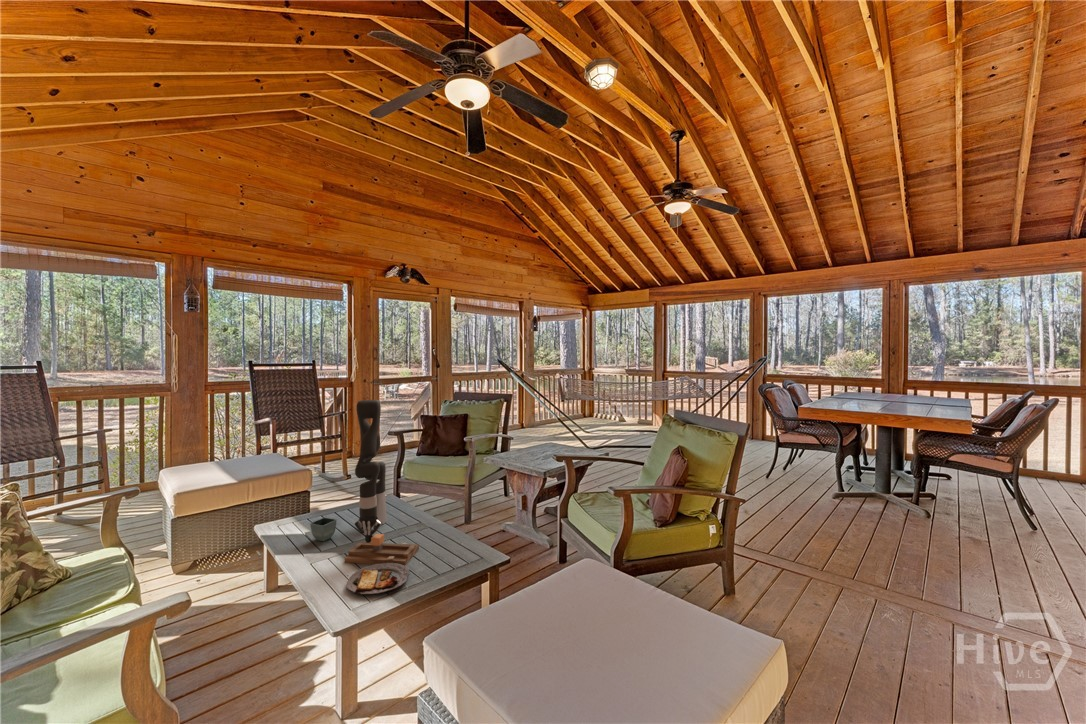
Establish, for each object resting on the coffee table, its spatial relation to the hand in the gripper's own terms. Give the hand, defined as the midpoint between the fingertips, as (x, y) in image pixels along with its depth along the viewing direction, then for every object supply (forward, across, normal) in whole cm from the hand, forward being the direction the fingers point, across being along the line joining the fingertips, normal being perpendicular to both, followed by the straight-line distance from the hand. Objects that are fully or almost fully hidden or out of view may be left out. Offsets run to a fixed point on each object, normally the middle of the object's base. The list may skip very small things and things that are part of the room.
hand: (368, 542), depth 204 cm
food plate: (+6, -16, +22) cm, 28 cm away
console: (+6, -7, 0) cm, 9 cm away
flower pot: (+6, +31, -14) cm, 35 cm away
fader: (+4, -4, 0) cm, 6 cm away
